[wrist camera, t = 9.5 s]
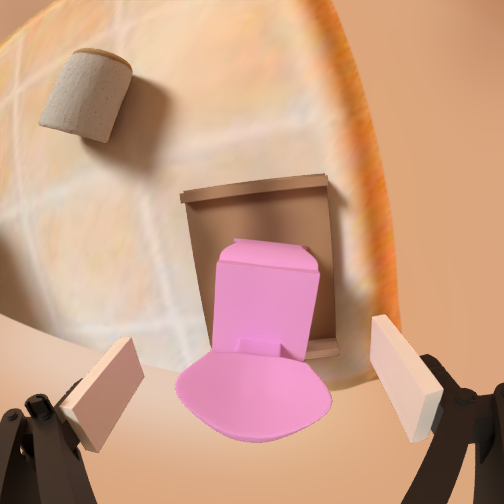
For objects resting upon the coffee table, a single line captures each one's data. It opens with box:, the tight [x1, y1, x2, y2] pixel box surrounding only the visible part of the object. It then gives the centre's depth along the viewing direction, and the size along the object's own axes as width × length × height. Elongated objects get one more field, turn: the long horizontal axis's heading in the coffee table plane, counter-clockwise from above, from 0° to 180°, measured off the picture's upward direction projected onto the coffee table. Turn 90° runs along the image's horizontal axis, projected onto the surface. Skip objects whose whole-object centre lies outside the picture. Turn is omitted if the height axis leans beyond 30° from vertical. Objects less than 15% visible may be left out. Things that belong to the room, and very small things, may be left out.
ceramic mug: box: [39, 48, 132, 143], centre depth 22 cm, size 11×8×8 cm
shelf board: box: [180, 174, 339, 360], centre depth 26 cm, size 12×16×4 cm
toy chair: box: [175, 238, 332, 443], centre depth 19 cm, size 8×9×15 cm
